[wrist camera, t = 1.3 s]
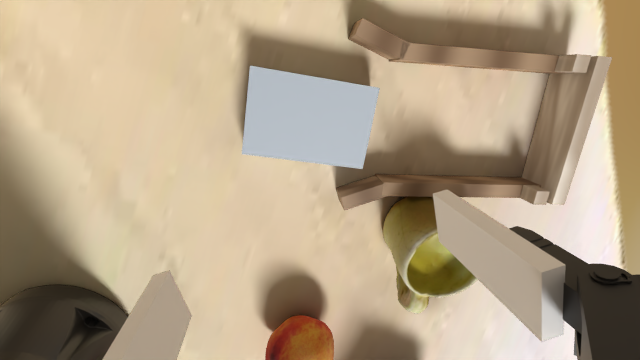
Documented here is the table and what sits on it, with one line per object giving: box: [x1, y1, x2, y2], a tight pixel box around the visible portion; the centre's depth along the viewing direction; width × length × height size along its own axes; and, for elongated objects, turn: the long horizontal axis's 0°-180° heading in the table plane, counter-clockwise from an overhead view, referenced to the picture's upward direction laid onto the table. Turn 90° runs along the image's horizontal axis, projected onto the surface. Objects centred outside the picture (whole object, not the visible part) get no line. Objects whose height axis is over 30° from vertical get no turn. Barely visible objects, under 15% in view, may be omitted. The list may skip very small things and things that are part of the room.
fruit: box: [266, 315, 334, 360], centre depth 37 cm, size 8×8×8 cm
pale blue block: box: [242, 66, 379, 169], centre depth 31 cm, size 12×8×4 cm, turn 81°
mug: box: [383, 196, 478, 314], centre depth 35 cm, size 12×10×10 cm
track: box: [336, 18, 612, 210], centre depth 32 cm, size 24×18×5 cm
